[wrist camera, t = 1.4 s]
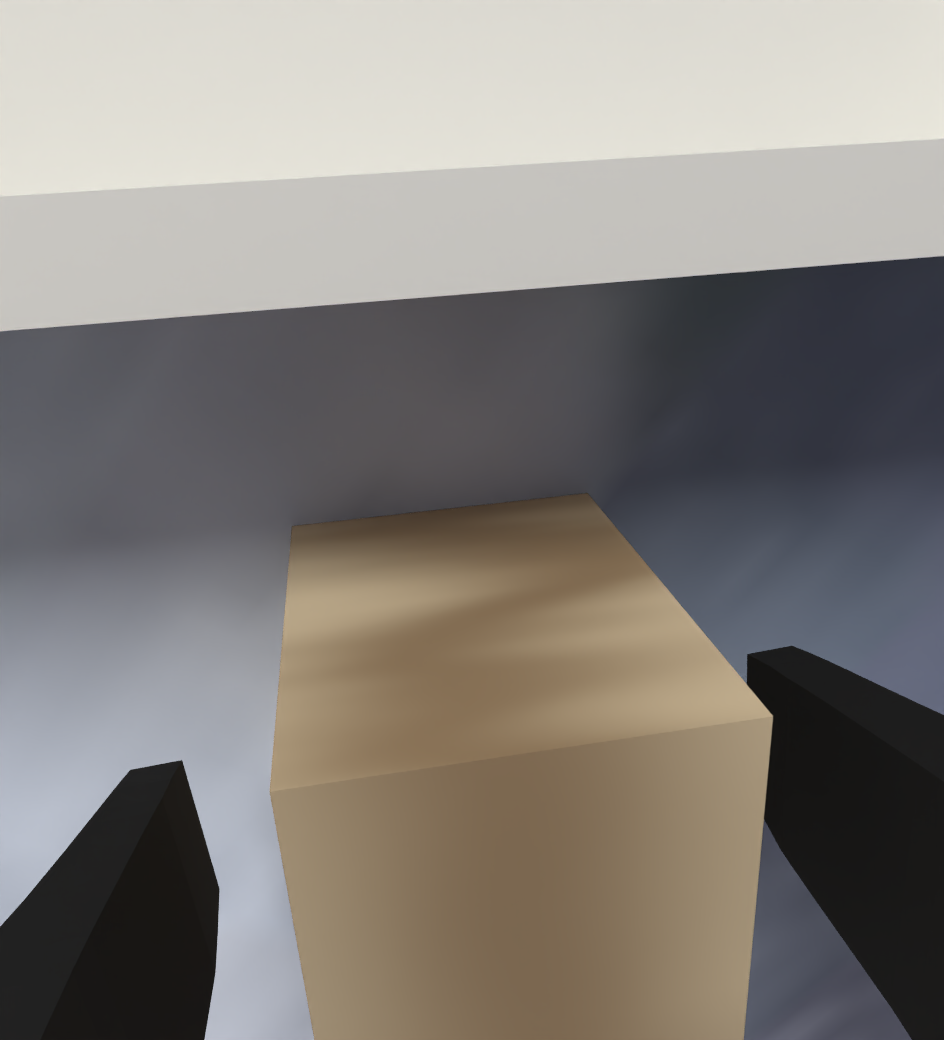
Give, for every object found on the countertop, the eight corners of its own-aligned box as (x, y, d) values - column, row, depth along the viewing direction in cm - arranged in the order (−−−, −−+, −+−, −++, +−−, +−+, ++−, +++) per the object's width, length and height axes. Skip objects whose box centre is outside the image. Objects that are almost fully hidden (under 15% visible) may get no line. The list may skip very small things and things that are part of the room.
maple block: (587, 492, 13) (772, 717, 8) (588, 734, 15) (742, 1057, 10) (291, 525, 13) (268, 792, 7) (328, 772, 14) (332, 1138, 9)
